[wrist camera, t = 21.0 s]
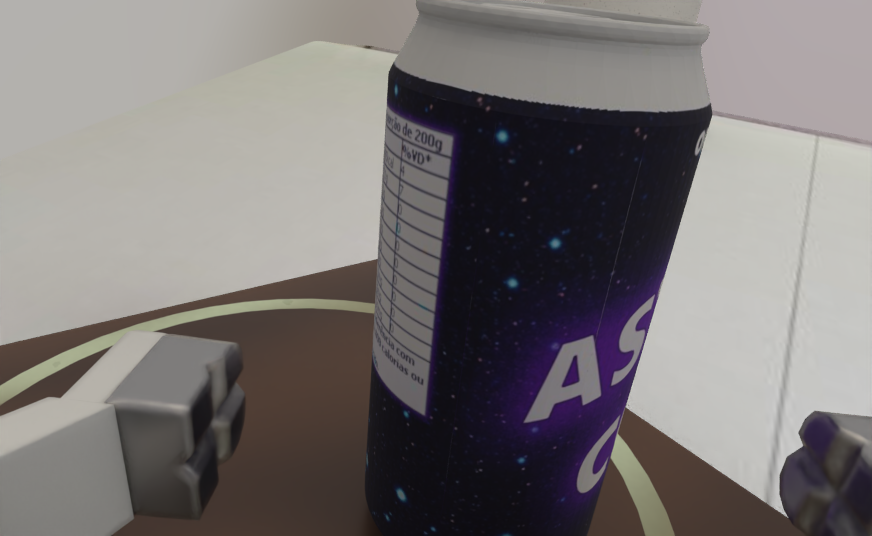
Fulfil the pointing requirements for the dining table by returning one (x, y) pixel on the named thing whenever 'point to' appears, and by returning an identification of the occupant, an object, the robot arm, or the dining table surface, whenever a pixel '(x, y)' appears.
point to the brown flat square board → (352, 421)
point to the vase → (642, 7)
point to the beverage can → (521, 256)
